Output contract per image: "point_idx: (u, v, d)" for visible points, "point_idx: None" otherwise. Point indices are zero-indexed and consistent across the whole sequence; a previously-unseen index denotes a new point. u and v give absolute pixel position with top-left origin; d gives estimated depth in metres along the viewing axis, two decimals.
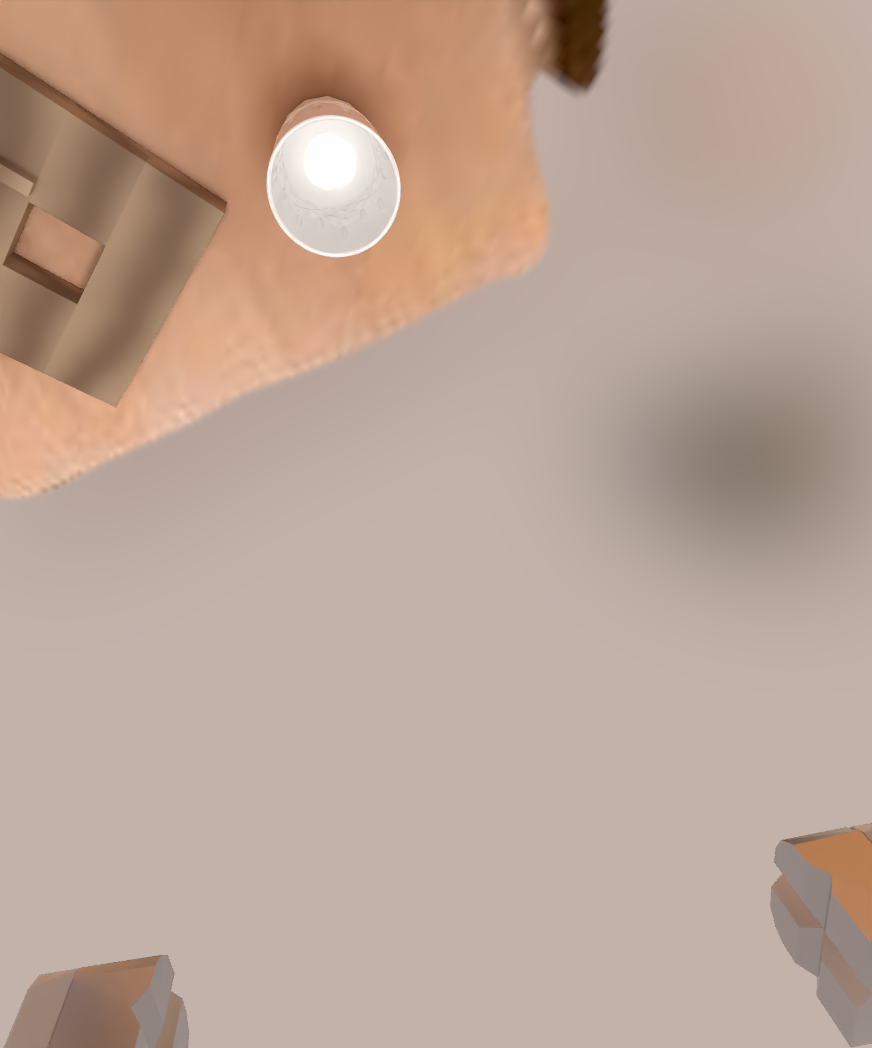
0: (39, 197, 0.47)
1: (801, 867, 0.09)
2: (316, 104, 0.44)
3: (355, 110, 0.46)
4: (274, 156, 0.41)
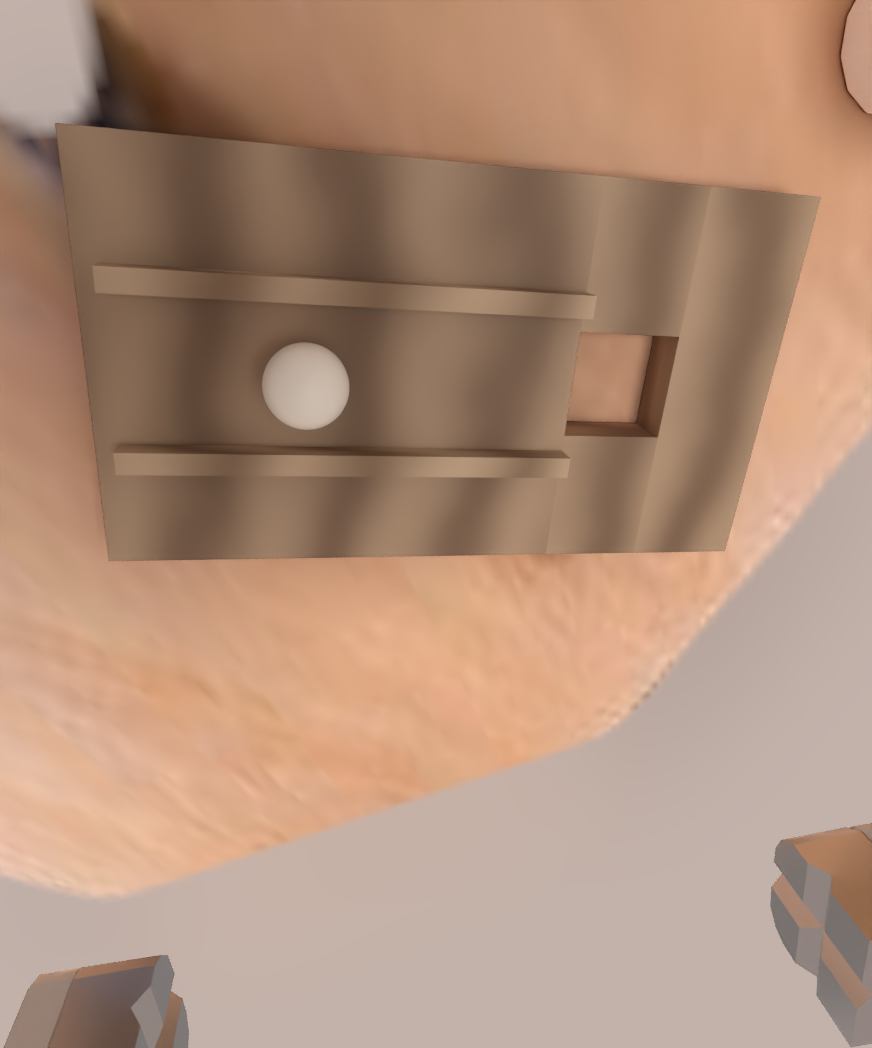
0: None
1: (801, 867, 0.09)
2: None
3: None
4: None
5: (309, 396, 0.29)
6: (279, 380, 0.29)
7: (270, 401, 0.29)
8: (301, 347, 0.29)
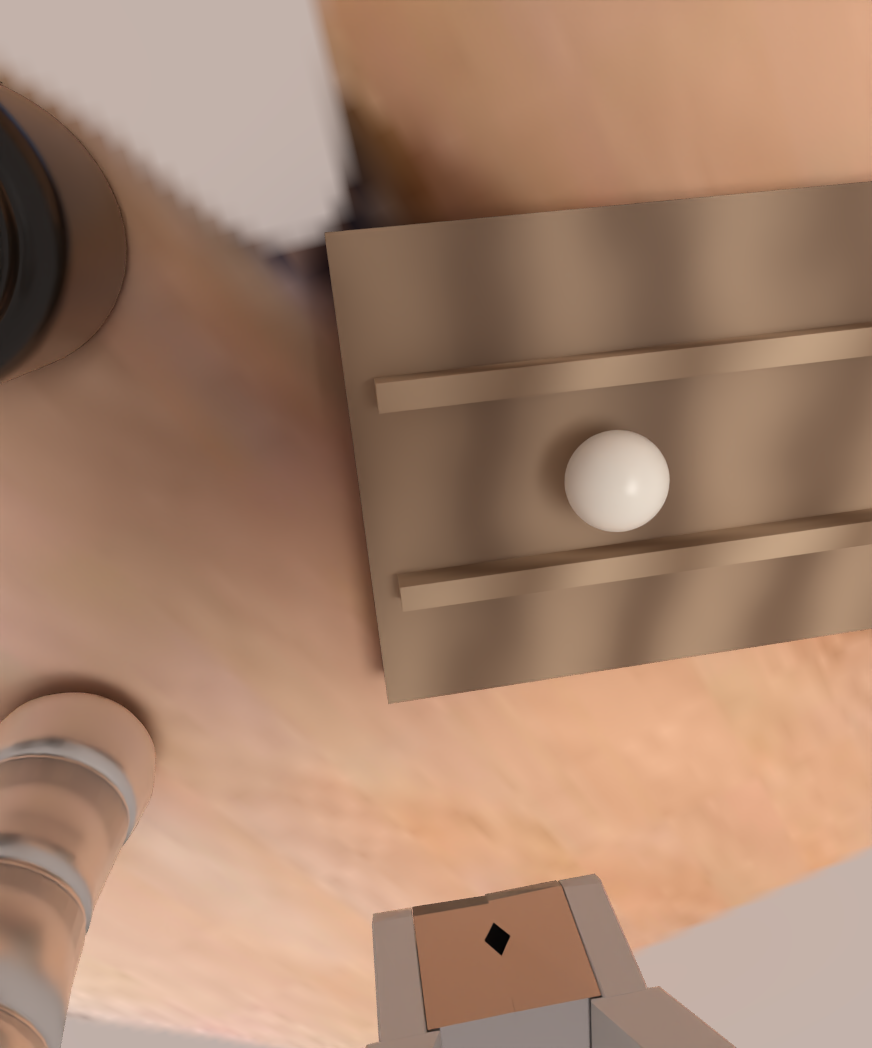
0: None
1: (491, 924, 0.09)
2: None
3: None
4: None
5: (638, 495, 0.24)
6: (599, 481, 0.24)
7: (585, 506, 0.25)
8: (615, 438, 0.24)
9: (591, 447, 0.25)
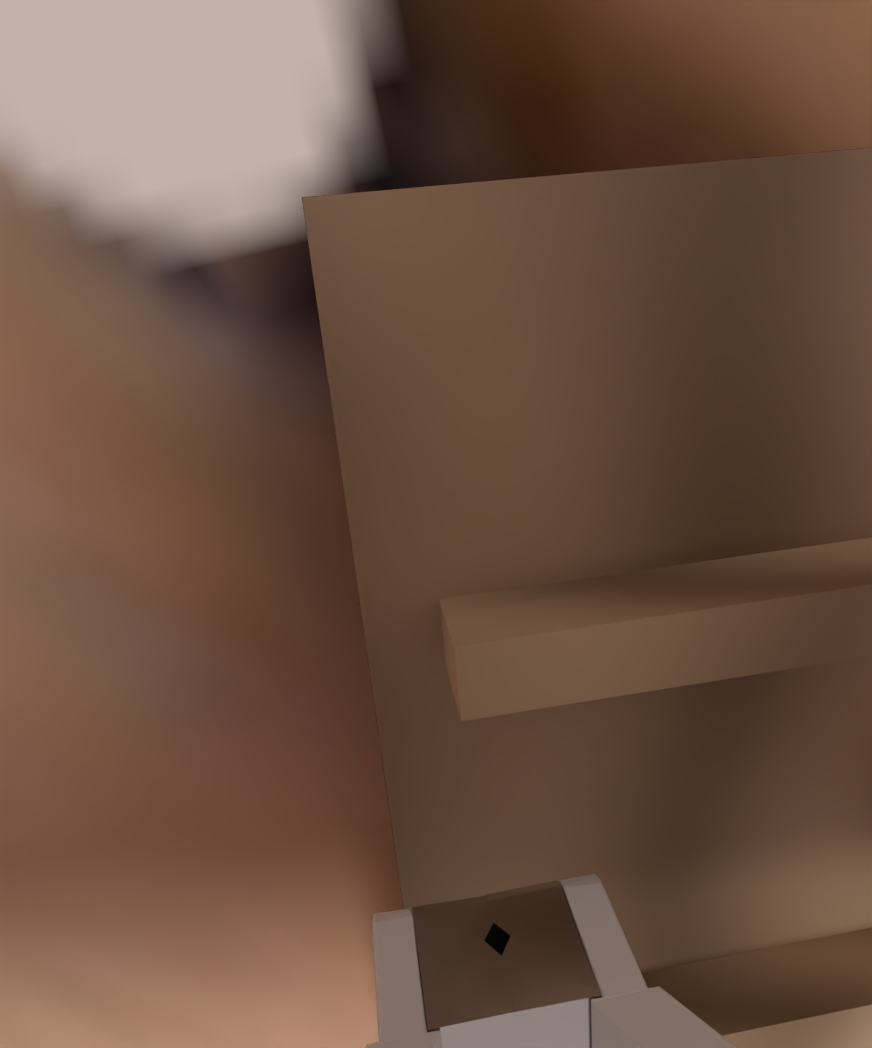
0: None
1: (492, 925, 0.09)
2: None
3: None
4: None
5: None
6: None
7: None
8: None
9: None
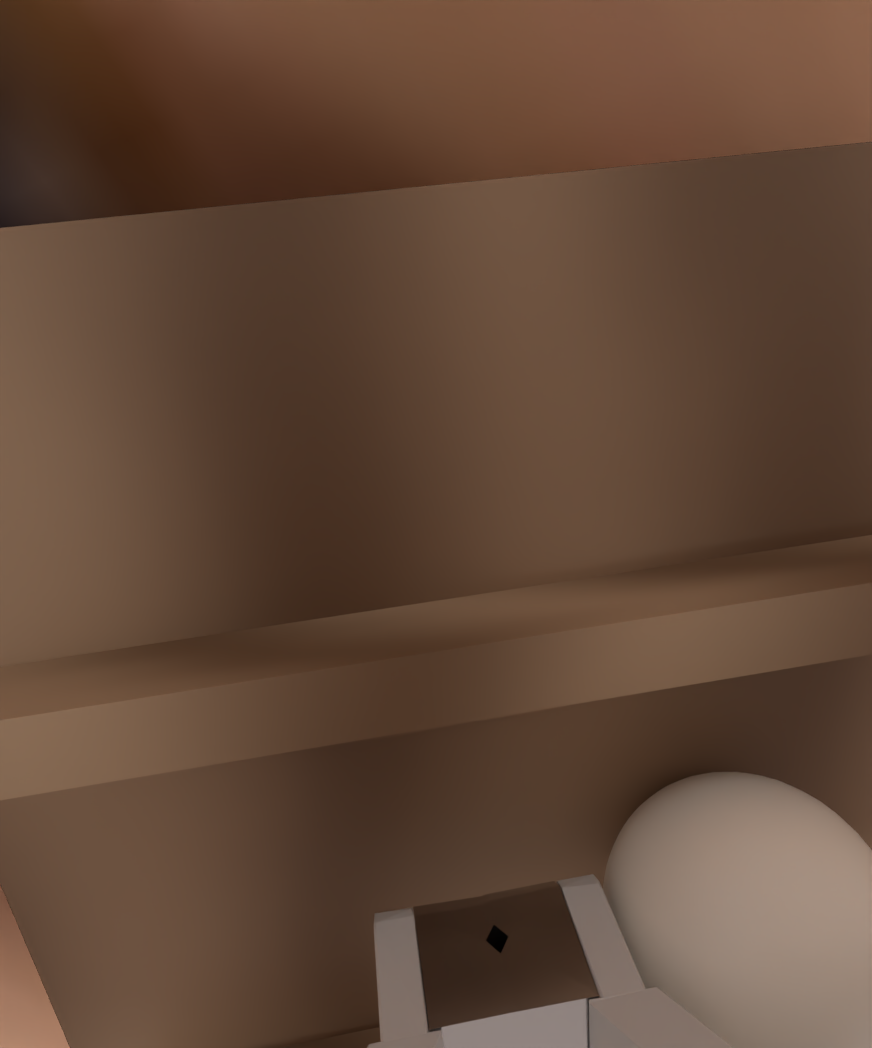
0: None
1: (490, 926, 0.09)
2: None
3: None
4: None
5: None
6: (782, 1025, 0.08)
7: None
8: (780, 852, 0.08)
9: (716, 891, 0.08)
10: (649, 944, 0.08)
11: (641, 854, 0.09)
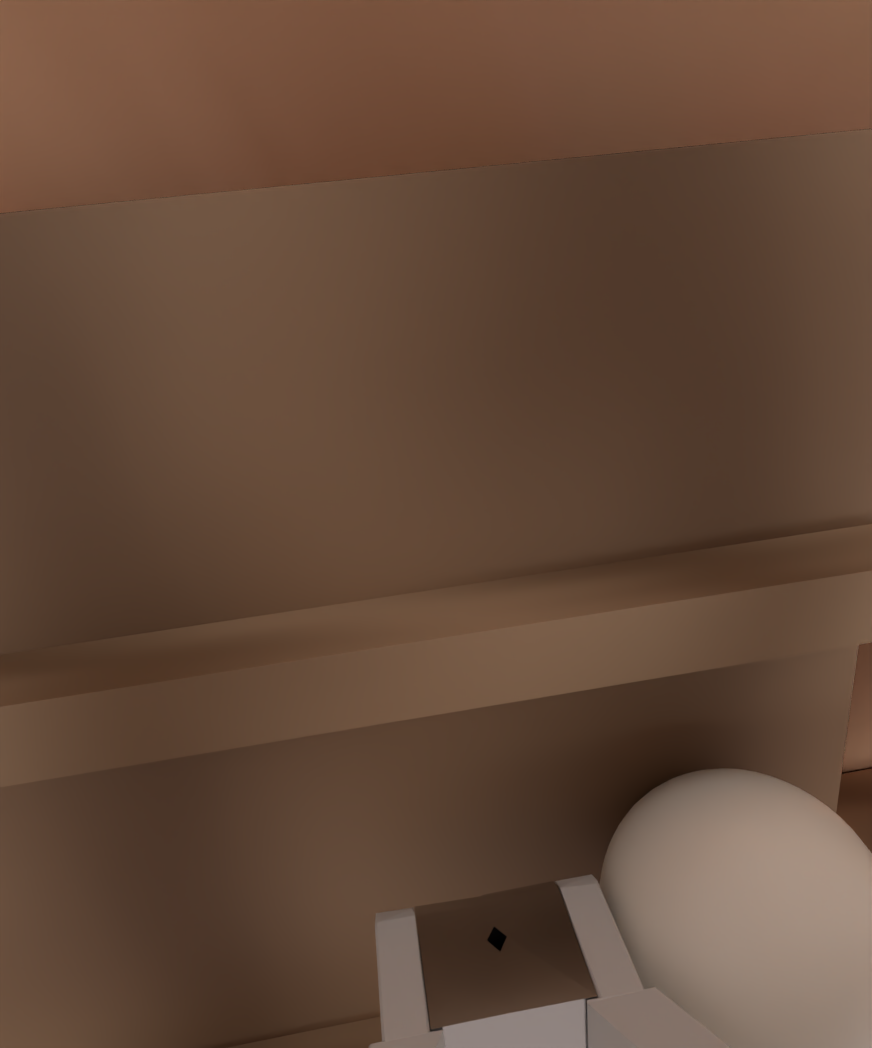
0: None
1: (488, 926, 0.09)
2: None
3: None
4: None
5: None
6: (618, 920, 0.09)
7: None
8: (715, 831, 0.09)
9: (656, 813, 0.09)
10: (621, 822, 0.10)
11: (673, 778, 0.10)
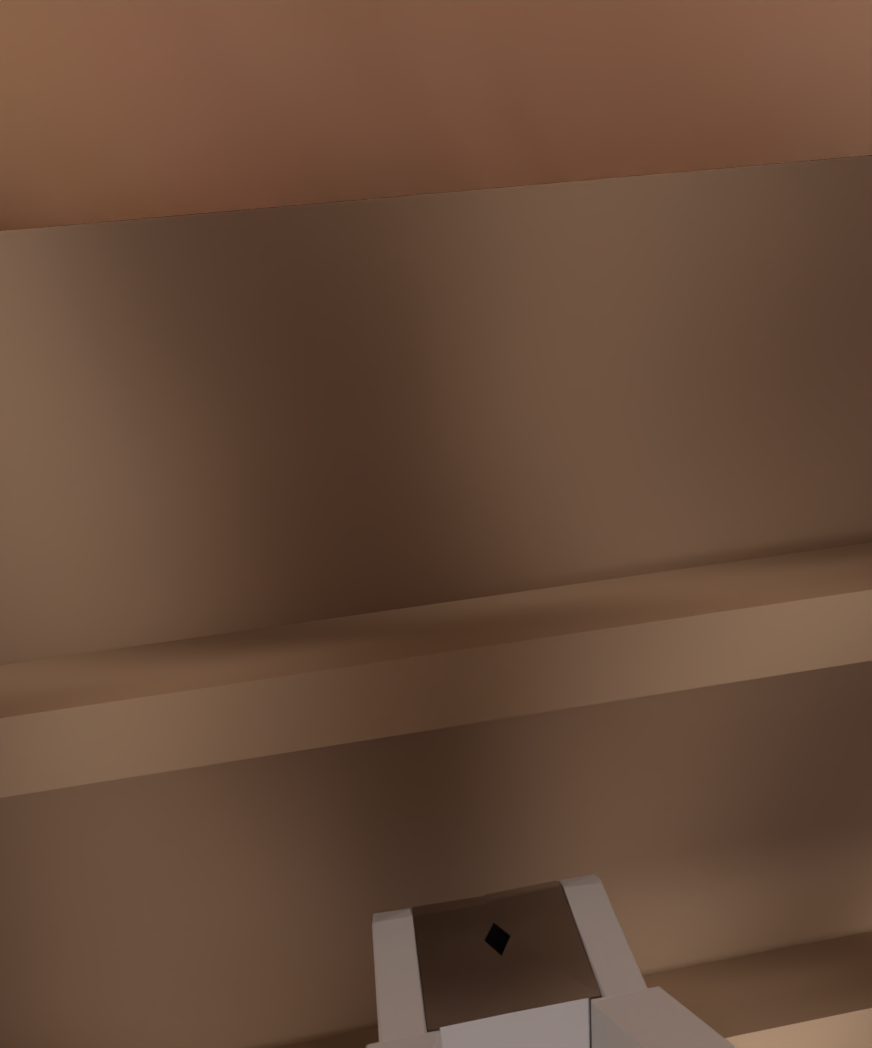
0: None
1: (491, 925, 0.09)
2: None
3: None
4: None
5: None
6: None
7: None
8: None
9: None
10: None
11: None
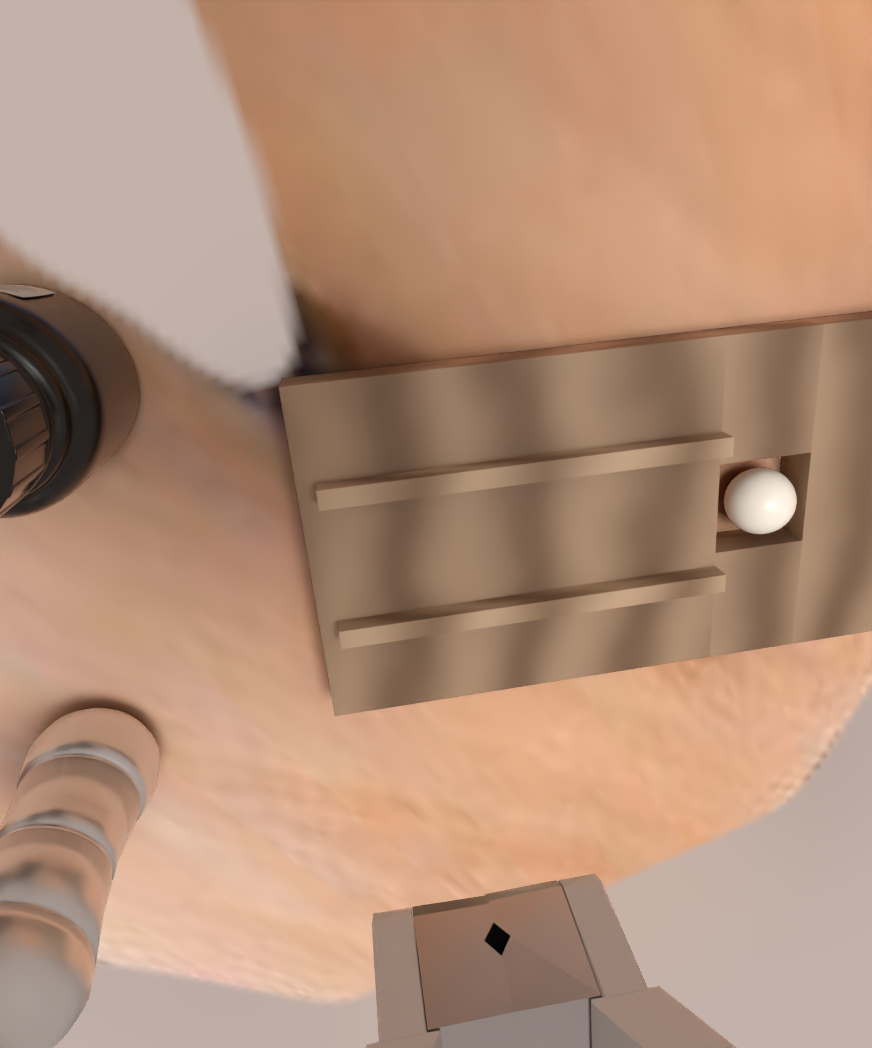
0: None
1: (491, 925, 0.09)
2: None
3: None
4: None
5: None
6: None
7: None
8: None
9: None
10: (794, 489, 0.38)
11: (787, 484, 0.38)
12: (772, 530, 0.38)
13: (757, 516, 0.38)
